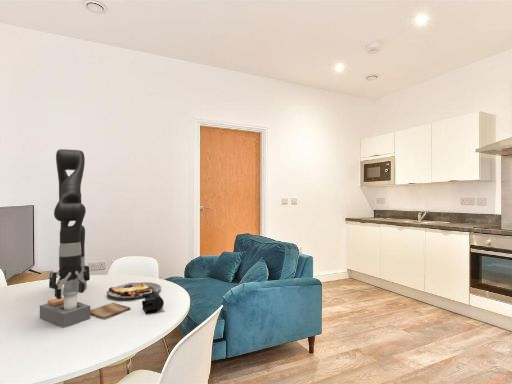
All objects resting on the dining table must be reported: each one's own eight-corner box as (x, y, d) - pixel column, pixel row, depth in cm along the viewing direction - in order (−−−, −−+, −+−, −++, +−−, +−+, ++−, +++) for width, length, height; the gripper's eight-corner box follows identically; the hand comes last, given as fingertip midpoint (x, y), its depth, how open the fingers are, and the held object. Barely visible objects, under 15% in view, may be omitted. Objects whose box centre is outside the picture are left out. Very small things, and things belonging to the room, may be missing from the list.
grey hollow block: (65, 309, 132) (65, 298, 132) (90, 318, 123) (90, 305, 123) (39, 318, 124) (39, 305, 124) (64, 327, 115) (64, 314, 115)
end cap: (163, 311, 130) (163, 295, 130) (146, 315, 126) (146, 298, 126) (158, 304, 138) (158, 289, 139) (141, 307, 135) (141, 292, 135)
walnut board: (112, 304, 138) (112, 302, 138) (130, 309, 132) (130, 307, 132) (86, 313, 128) (86, 311, 128) (104, 319, 122) (104, 317, 122)
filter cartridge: (73, 316, 125) (73, 289, 125) (80, 319, 122) (79, 291, 122) (60, 321, 121) (60, 292, 121) (67, 323, 118) (67, 294, 118)
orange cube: (61, 308, 130) (61, 296, 130) (68, 310, 127) (68, 298, 127) (47, 312, 125) (47, 300, 125) (54, 315, 123) (54, 302, 123)
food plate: (113, 304, 138) (114, 296, 138) (101, 292, 156) (101, 285, 156) (167, 294, 154) (167, 287, 154) (150, 284, 172) (150, 278, 172)
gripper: (56, 258, 114) (56, 302, 113) (93, 251, 126) (93, 292, 126) (45, 256, 117) (45, 299, 117) (82, 250, 130) (82, 289, 129)
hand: (70, 295), depth 121 cm, fingers open, 8 cm apart
